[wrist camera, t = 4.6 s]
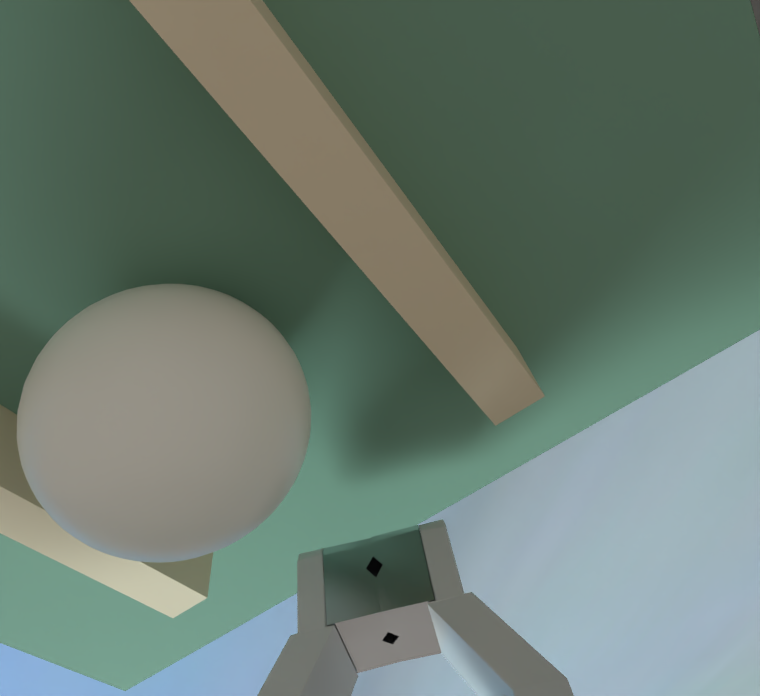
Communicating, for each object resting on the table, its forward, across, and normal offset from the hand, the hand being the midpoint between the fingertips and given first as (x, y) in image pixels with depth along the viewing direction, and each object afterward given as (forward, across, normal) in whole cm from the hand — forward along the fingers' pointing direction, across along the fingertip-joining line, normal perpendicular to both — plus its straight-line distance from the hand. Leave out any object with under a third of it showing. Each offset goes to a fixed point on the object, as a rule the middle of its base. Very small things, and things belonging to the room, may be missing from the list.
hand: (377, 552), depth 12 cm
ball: (0, +2, -5) cm, 5 cm away
